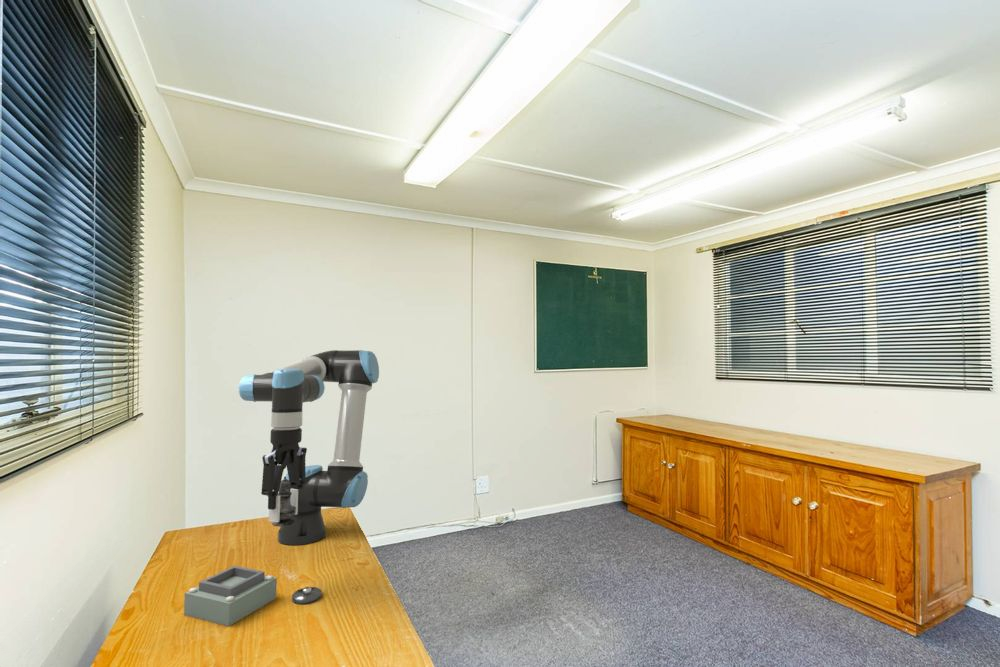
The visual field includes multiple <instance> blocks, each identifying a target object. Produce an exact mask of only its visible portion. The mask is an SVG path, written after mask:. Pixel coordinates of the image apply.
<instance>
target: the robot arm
mask: <svg viewBox="0 0 1000 667" xmlns="http://www.w3.org/2000/svg"><path fill="white" fill-rule="evenodd" d="M379 368H380V367H379V362H378V358H377V355H376V354H375V353H374V352H373V351H370V350H362V349H359V350H334V349H332V350H327V351H323V352H319V353H317V354H313V355H310V356H306V357H305V358H303V360H301V362H297V363H295V364H292V365H288V366H285V367H282V368H278V369H277V368H276V369H275V370H273V371H270V372H266V373H264V374H247V375H244V376H242V378H241V380H240V381H239V383H238V394H239V397H240V398H241V400H244V401H246V402H248V401H249V402H254V403H256V402H271V419H270V420H271V421H270V422H271V423H270V426H271V428H272V429H271V430H270V439H269V440H270V444H272V449H271V453H268V454H264V455H263V456H262V462H263V469H262V480H261V481H262V482H261V492H260V493H261V495H262V496H266V497H267V498H268V499H267V509H268V522H269V523H270V522H272V523H273V522H279V519H280V495H278V493H279V487H280V483H281V480H283V479H282V478H283V474H284V470H285V469H286V470H287V473H286V475H285V477H286V479H287V480H289V481H290V482H291V490H290V492H291V493H292V494H291V499H290V502H291V505H292V506H295V507H296V509H295V512H294V515H293V516H292V517H291V518H289V519H292V520H294V523H293V524H291V525H287V526H279V530H278V533H277V541H278V543H280V544H283V545H287V546H299V545H308V544H311V543H316V542H319V541H320V540H322V539H324V538H325V537H326V536H327V527H326V525H325V521H324V518H323V515H322V508H341V509H346V508H356V507H358V506H359V505H360V504H361V503H362V501H363V500H364V497H365V495H366V493H367V489H368V484H369V483H368V482H369V479H368V478H369V477H368V473H367V472H366V471H365V470H364V465H363V464H362V463H361V461H360V458H361V450H362V439H363V430H364V421H365V414H366V412H365V411H366V403H367V397H368V396H367V395H368V392H370V391H371V390H372V389H373V384H376V383H377V382H379V376H380V369H379ZM325 382H327V383H338V388H339V389H340V390H341V394H340V395H341V396H340V397H341V398H340V405H339V411H338V420H337V427H336V428H337V429H336V436H335V444H334V445H335V446H334V452H333V459H332V461H331V462H330V463H328V464H327V469H326V470H324V468H323V466H322V465H320V464H315V465H313V464H311V465H307V466H306V454H307V452H308V451H307V450H308V448H307V447H300V444H299V443H301V442H302V438H303V437H302V436H303V433H302V432H303V429H302V426H303V405H304V404H303V403H312V402H314V401H317V400H319V399H320V398H322V396H323V395H324V393H325V389H326V387H325ZM363 470H364V471H363Z"/></svg>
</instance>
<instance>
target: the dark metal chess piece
mask: <svg viewBox="0 0 1000 667" xmlns="http://www.w3.org/2000/svg"><path fill="white" fill-rule="evenodd" d="M290 490H291V482H290V481H289V480H287V479H286V476H283V479H281V483H280V487H279V492H278V495H280V519H279V522H272V526H273V527H281V526H287V525H291V524H293V523H294V520H292V519H289V518H291V517H292V516H293V515H294V512H295V509H296V507H295V506H292V505H291V502H290V499H291V494H292V493H291V492H290Z"/></svg>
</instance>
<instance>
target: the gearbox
mask: <svg viewBox="0 0 1000 667" xmlns="http://www.w3.org/2000/svg"><path fill="white" fill-rule="evenodd" d="M265 574H266V572H265V571H263V570H258V569H252V568H248V567H245V566H244V567H243V566H239V565H233V566H231V567H229V568H226V569H224V570H222V571H220V572H218V573H216V574H214V575H211V576H209V577H207V578H205V579H203V580H201V581H199V582H198V586H196V587H192V588H189V590H188V591H186V592H184V601H183V602H184V603H183V605H184V606H183V615H184V616H187V617H191V618H195V619H197V620H198V619H200V620H202V621H206V622H211V623H214V624H218V625H220V626H221V625H222V626H225V627H230V626H231V625H233V624H235V623H236V622H239V621H240V620H242V619H243V618H245V617H247V616H248V615H250V614H252V613H253V612H256V611H257V610H259V609H261V608H262V607H264V606H265V605H267V604H269V603H271V602H272V601H274V600H275V599H277V582H278V578H277V577H275V576H274V575H271V574H270V575H269V574H268V575H265Z"/></svg>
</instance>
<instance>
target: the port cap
mask: <svg viewBox="0 0 1000 667" xmlns="http://www.w3.org/2000/svg"><path fill="white" fill-rule="evenodd" d="M322 591H323V590H322V589H321V588H319V587H314V586H306V587H303V588H300V589H297V590H296V591H294V592H293V593H292V594H291V602H292V603H294V604H296V605H308V604H309V605H310V604H313V603H315V602H317V601H319V600H320V599H321V598H322V595H323V594H322V593H323V592H322Z"/></svg>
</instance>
